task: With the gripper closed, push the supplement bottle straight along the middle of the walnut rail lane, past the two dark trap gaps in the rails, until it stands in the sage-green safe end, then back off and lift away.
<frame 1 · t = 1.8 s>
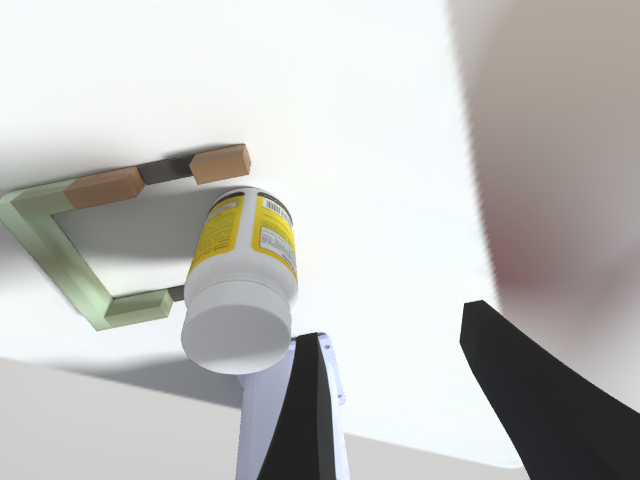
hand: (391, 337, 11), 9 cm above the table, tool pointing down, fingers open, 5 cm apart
supplement bottle: (251, 221, 19), on the table
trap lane: (174, 238, 19), on the table
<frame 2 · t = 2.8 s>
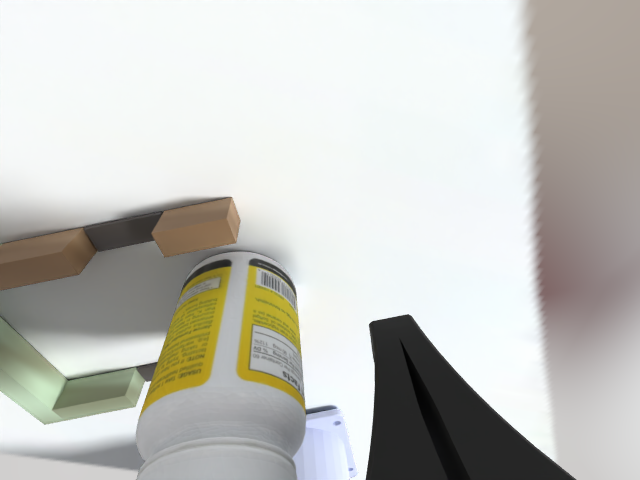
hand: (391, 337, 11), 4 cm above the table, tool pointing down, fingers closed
supplement bottle: (242, 288, 15), on the table
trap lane: (142, 311, 15), on the table
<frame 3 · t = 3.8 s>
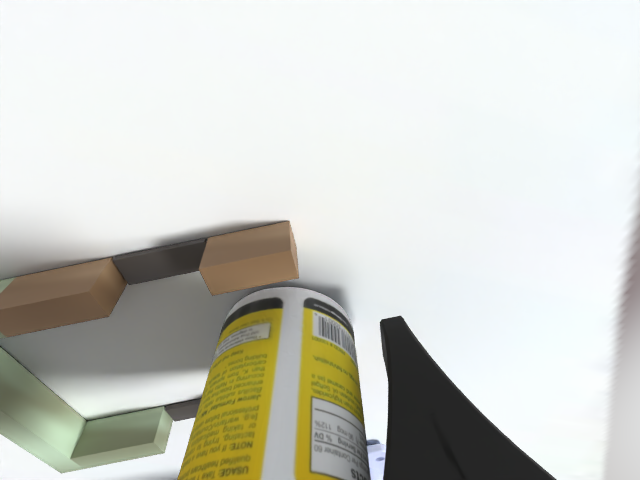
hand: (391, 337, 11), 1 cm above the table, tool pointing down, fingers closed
supplement bottle: (290, 325, 13), on the table, touching gripper
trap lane: (174, 348, 13), on the table
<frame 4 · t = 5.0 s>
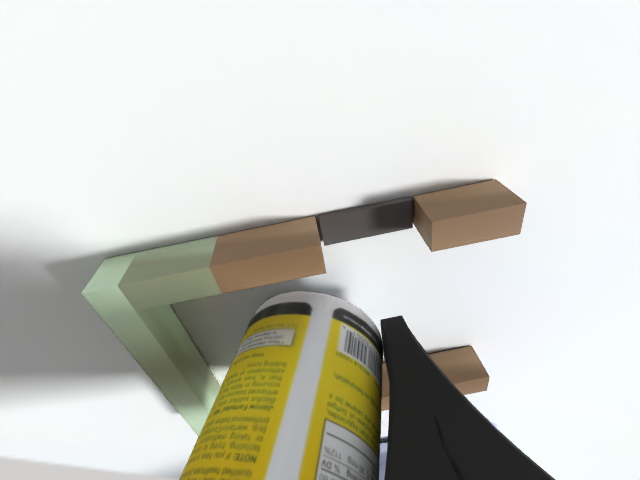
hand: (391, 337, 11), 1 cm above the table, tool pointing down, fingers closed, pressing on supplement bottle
supplement bottle: (318, 330, 12), on the table, touching gripper
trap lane: (336, 316, 13), on the table
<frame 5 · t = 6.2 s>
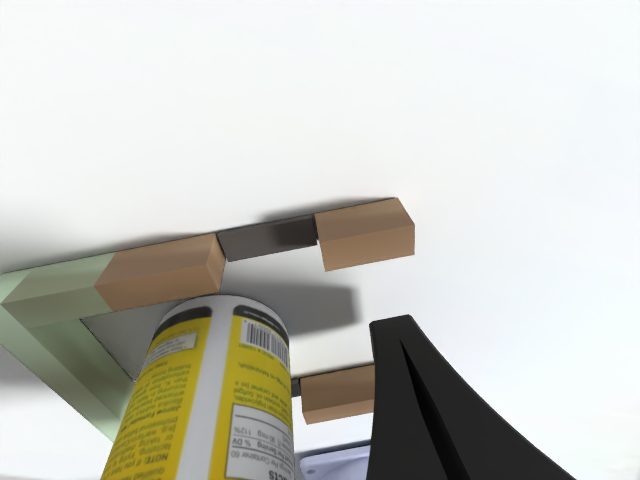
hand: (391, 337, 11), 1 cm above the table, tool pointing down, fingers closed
supplement bottle: (226, 332, 13), on the table
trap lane: (256, 330, 12), on the table
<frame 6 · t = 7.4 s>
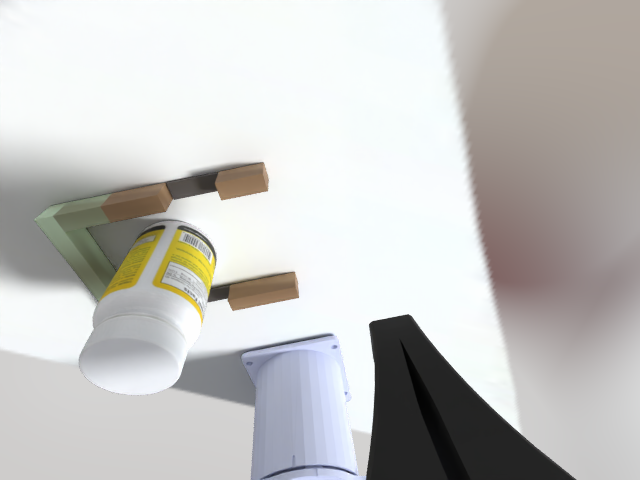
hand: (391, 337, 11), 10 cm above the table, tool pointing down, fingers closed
supplement bottle: (179, 248, 21), on the table
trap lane: (196, 247, 21), on the table
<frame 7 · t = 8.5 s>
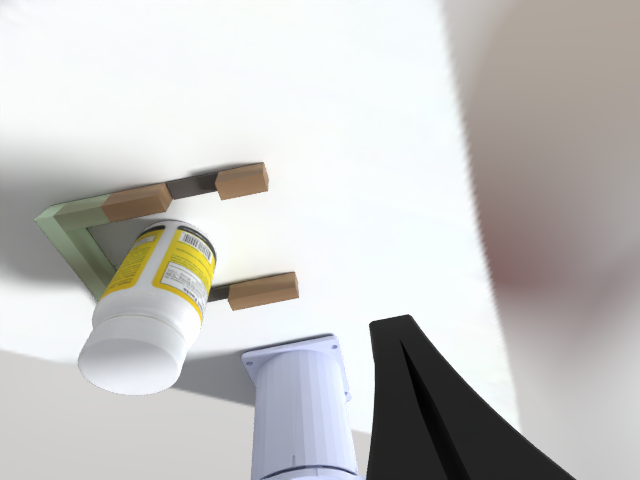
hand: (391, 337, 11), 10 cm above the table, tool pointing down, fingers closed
supplement bottle: (179, 248, 21), on the table
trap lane: (196, 247, 21), on the table
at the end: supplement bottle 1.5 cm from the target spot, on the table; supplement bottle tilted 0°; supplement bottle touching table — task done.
